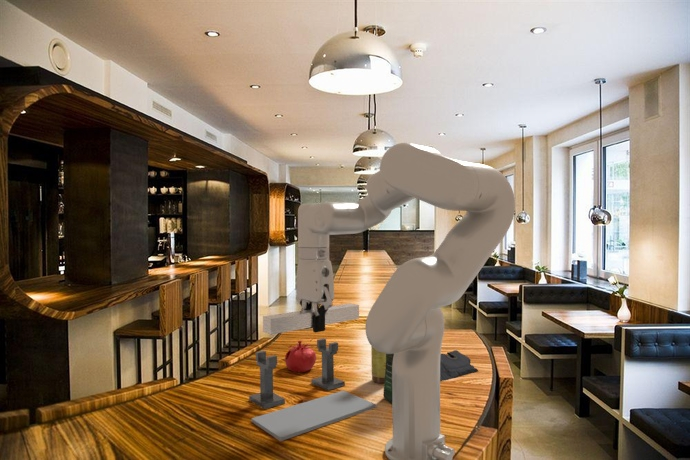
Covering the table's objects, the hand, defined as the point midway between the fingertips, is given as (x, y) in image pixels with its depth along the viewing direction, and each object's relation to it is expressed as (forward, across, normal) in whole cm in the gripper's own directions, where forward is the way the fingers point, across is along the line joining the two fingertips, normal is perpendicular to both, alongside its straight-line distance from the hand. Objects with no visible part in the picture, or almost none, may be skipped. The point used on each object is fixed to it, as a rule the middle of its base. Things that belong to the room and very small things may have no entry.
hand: (313, 329), depth 115 cm
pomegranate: (+22, +31, -17) cm, 42 cm away
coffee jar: (+21, -8, -23) cm, 32 cm away
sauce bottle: (+21, +6, -29) cm, 36 cm away
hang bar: (-1, 0, 0) cm, 1 cm away
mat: (+21, -1, 0) cm, 21 cm away
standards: (+21, +14, -5) cm, 26 cm away
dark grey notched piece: (+21, +1, -49) cm, 54 cm away
